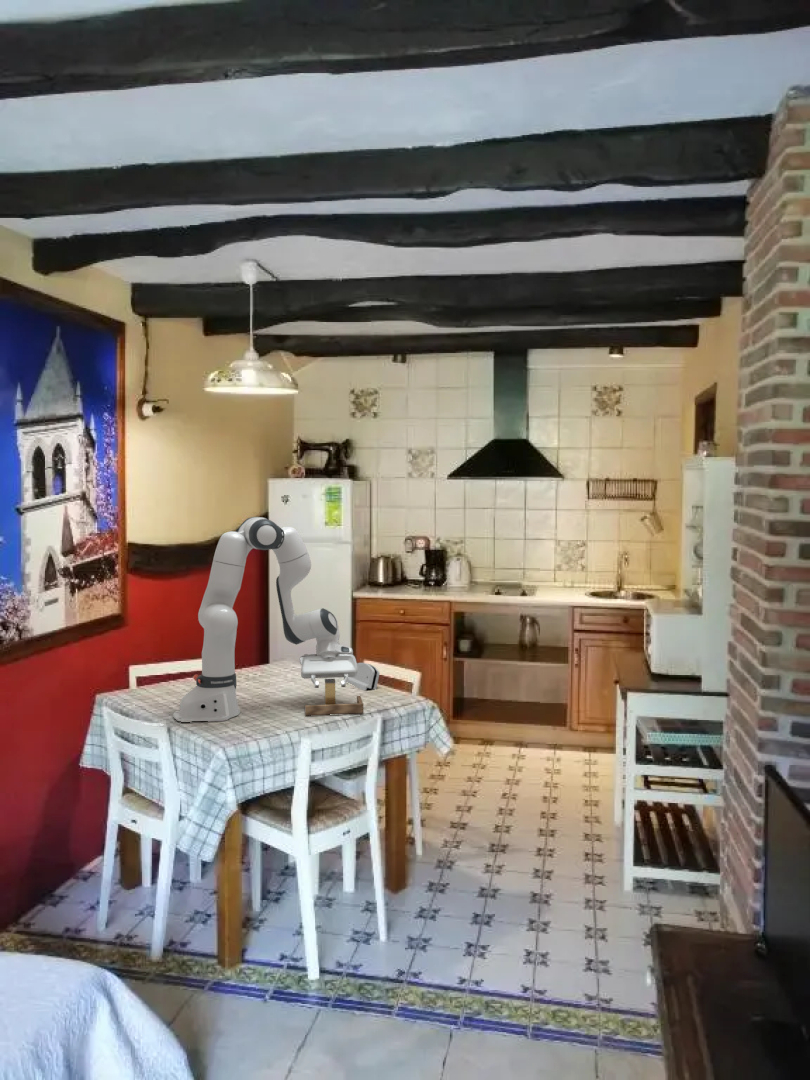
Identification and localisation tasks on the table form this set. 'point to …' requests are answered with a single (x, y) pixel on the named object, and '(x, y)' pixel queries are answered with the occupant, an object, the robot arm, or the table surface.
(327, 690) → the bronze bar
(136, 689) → the table surface
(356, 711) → the corner tray
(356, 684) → the hinge
